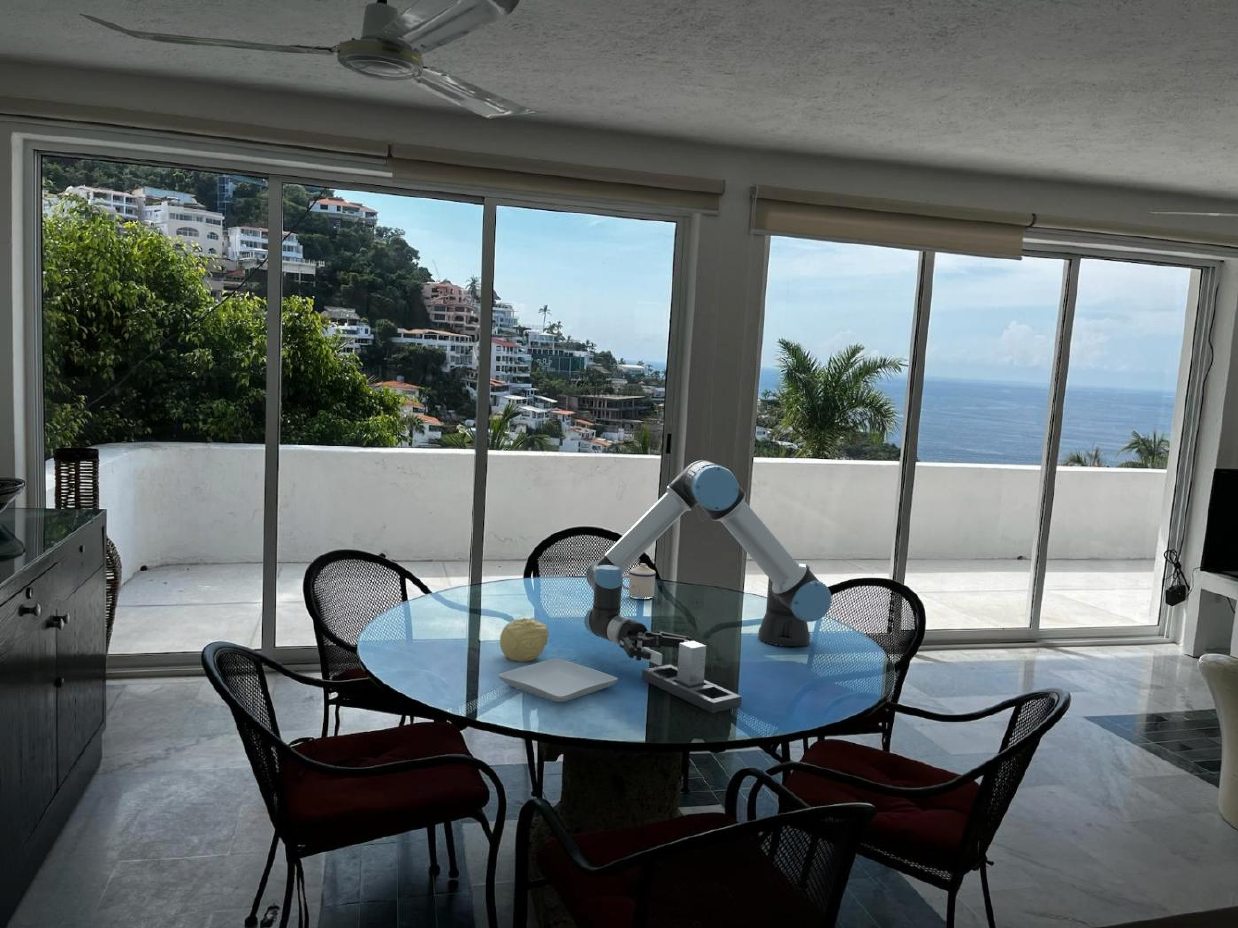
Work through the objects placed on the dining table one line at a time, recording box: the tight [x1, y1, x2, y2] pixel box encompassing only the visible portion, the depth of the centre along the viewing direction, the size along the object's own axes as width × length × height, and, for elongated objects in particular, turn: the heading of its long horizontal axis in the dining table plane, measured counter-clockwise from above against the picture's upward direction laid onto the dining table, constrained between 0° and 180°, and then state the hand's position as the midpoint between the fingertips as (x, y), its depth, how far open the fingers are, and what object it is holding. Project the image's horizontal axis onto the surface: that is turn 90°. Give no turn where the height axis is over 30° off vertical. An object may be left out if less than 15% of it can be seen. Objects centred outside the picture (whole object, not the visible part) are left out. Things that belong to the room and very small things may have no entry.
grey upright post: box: [677, 640, 707, 688], centre depth 230 cm, size 5×5×12 cm
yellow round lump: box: [499, 617, 549, 663], centre depth 249 cm, size 11×12×11 cm
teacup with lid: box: [622, 562, 657, 598], centre depth 321 cm, size 12×9×12 cm
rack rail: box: [641, 664, 742, 714], centre depth 230 cm, size 9×26×2 cm, turn 37°
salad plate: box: [497, 657, 619, 703], centre depth 229 cm, size 21×21×3 cm
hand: (682, 655), depth 232 cm, fingers open, 13 cm apart
